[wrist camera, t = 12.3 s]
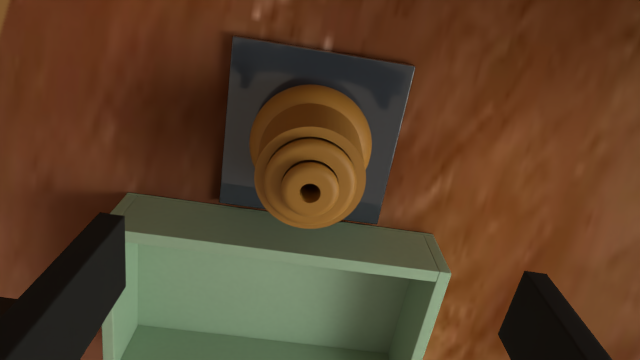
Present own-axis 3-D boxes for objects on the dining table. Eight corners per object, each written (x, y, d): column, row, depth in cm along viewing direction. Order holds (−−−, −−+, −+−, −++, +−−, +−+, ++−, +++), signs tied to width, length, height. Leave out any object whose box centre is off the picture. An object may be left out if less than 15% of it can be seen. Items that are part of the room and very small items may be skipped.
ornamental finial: (389, 156, 29) (293, 210, 31) (330, 56, 27) (228, 120, 28) (415, 215, 22) (287, 282, 23) (337, 85, 19) (199, 169, 21)
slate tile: (413, 64, 27) (416, 66, 27) (376, 220, 32) (377, 224, 31) (234, 35, 27) (232, 36, 26) (220, 199, 31) (218, 202, 30)
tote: (432, 234, 32) (451, 273, 28) (395, 358, 37) (405, 409, 33) (127, 192, 31) (96, 227, 26) (129, 328, 35) (103, 377, 31)
